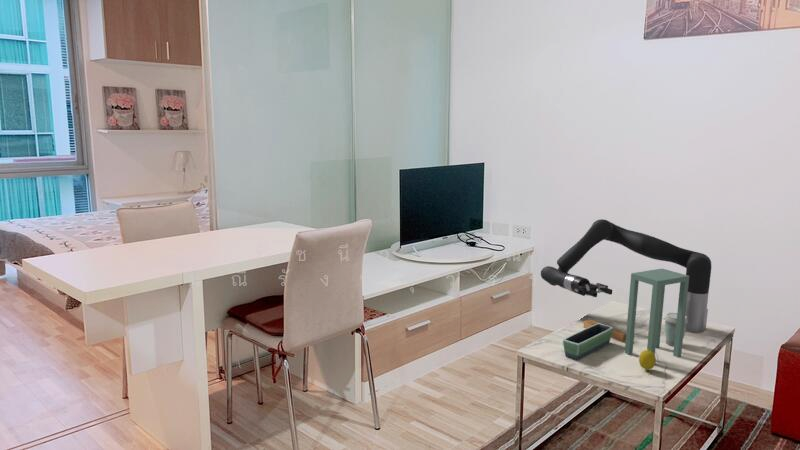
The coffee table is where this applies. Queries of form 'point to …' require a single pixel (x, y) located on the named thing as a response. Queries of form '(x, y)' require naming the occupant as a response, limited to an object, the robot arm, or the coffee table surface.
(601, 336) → the planter
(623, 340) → the block
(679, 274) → the tall green stool
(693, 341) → the coffee table surface
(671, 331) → the coffee cup
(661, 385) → the coffee table surface
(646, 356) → the lemon
